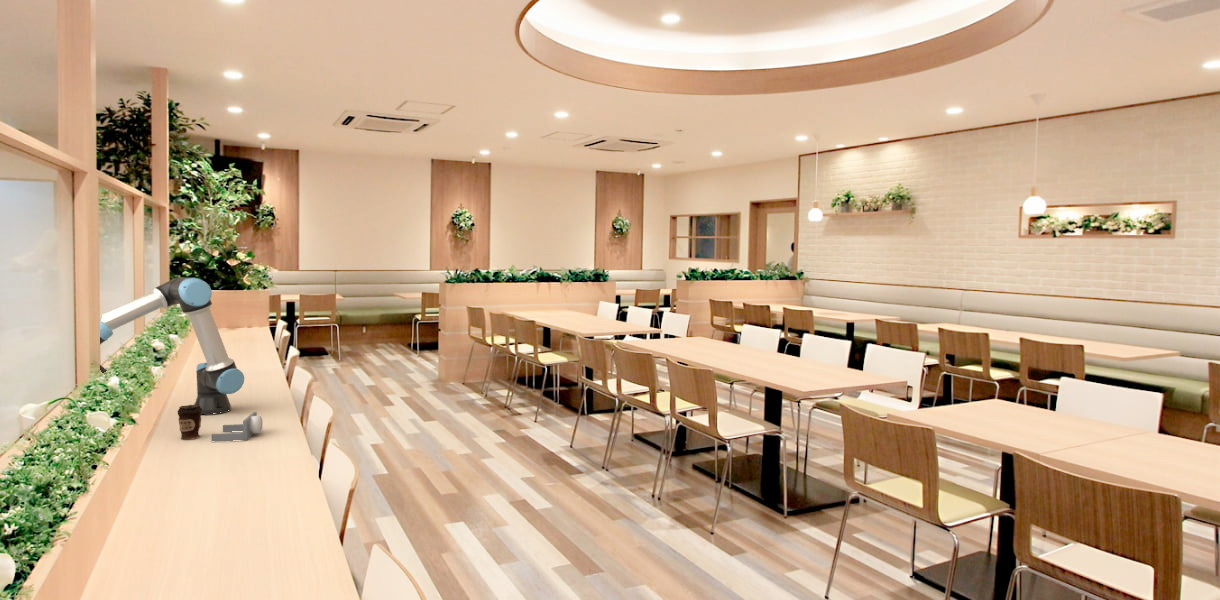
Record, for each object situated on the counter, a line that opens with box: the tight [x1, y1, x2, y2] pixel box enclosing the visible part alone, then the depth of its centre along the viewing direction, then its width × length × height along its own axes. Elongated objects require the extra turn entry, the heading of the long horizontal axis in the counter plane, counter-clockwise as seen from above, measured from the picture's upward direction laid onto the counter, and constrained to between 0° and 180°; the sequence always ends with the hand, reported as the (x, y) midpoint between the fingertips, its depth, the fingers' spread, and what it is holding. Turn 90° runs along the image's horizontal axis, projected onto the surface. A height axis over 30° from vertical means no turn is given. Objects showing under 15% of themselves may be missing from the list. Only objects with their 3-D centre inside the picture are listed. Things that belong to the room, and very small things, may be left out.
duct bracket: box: [210, 411, 264, 442], centre depth 289 cm, size 15×16×8 cm
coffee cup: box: [177, 404, 202, 440], centre depth 285 cm, size 9×8×13 cm
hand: (140, 412), depth 280 cm, fingers closed
